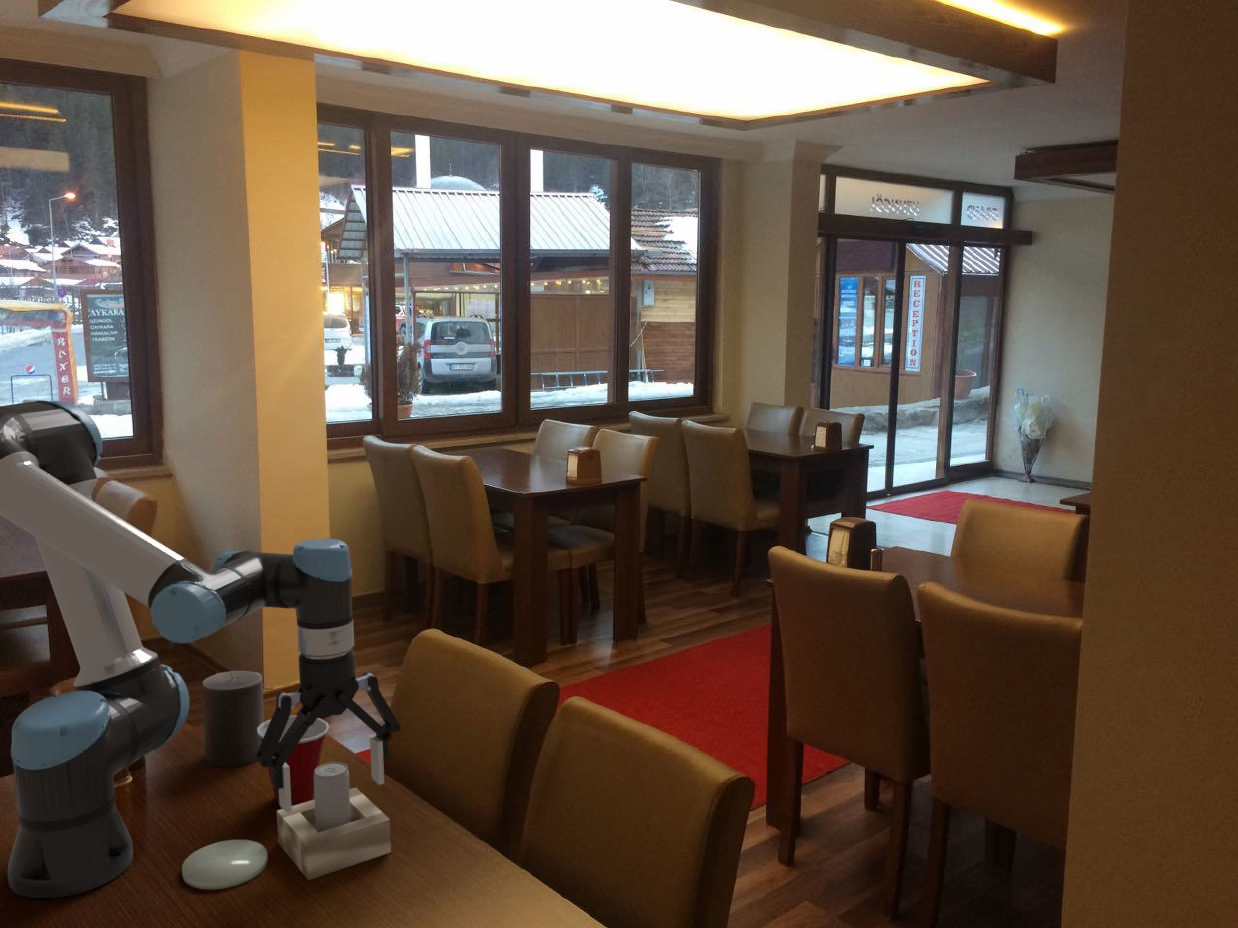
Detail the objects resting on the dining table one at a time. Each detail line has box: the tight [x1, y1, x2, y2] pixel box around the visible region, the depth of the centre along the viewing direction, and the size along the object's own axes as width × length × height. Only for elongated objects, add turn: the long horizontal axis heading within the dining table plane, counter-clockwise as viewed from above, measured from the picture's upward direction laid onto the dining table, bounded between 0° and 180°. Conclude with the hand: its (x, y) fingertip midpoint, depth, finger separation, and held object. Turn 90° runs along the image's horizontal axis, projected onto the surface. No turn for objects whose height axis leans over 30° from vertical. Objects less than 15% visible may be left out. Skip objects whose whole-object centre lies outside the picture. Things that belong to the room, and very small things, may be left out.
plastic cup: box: [257, 714, 330, 806], centre depth 160 cm, size 11×11×12 cm
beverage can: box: [313, 761, 351, 833], centre depth 145 cm, size 5×5×12 cm
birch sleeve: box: [276, 787, 392, 881], centre depth 146 cm, size 12×12×5 cm
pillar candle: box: [201, 670, 265, 768], centre depth 174 cm, size 10×10×15 cm
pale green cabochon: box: [181, 839, 268, 890], centre depth 141 cm, size 11×11×1 cm
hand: (333, 794), depth 145 cm, fingers open, 13 cm apart
